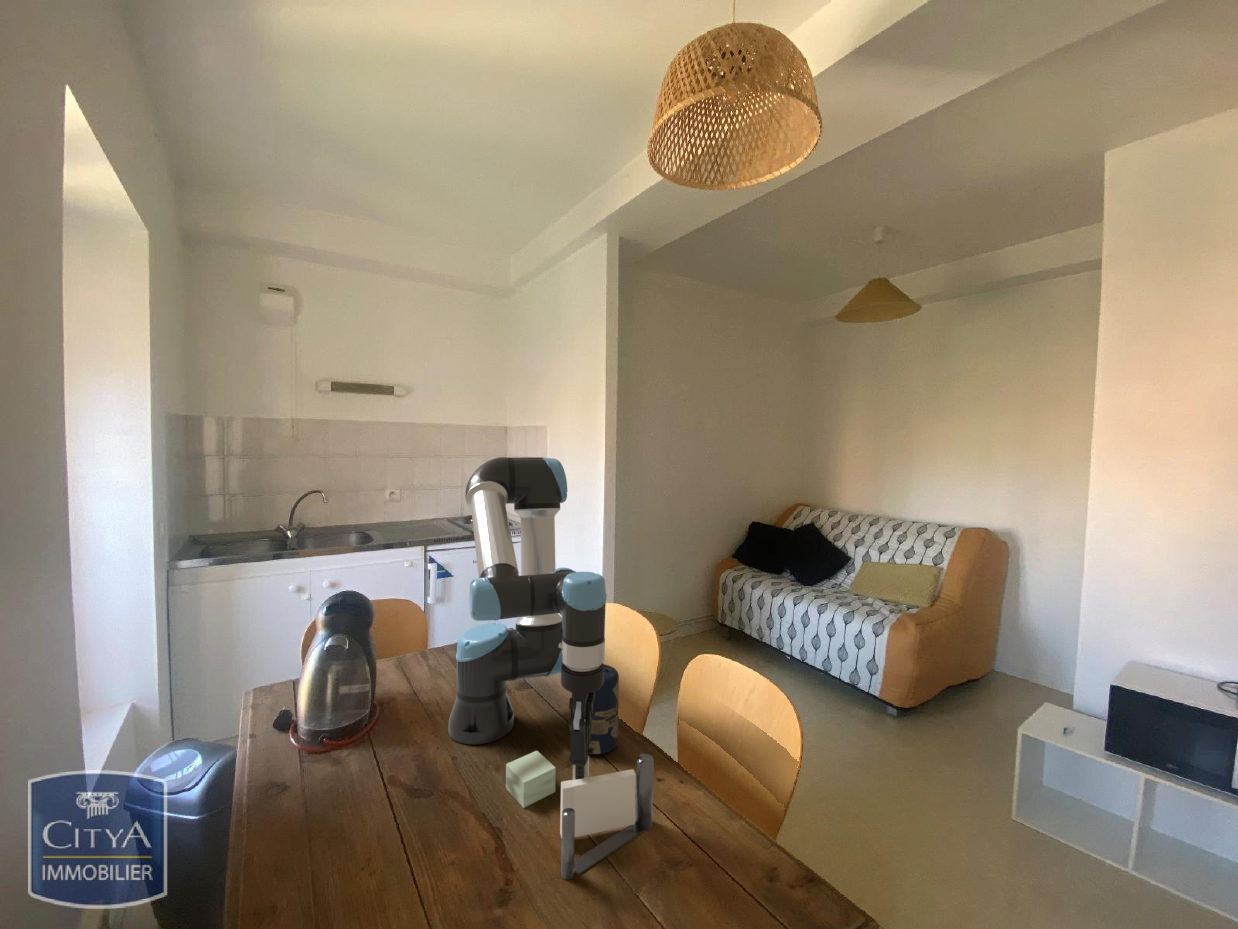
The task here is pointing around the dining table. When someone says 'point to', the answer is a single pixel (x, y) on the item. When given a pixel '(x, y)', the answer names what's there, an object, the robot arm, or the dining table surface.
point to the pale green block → (530, 778)
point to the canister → (605, 713)
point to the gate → (600, 802)
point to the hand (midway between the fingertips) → (580, 793)
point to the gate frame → (619, 839)
